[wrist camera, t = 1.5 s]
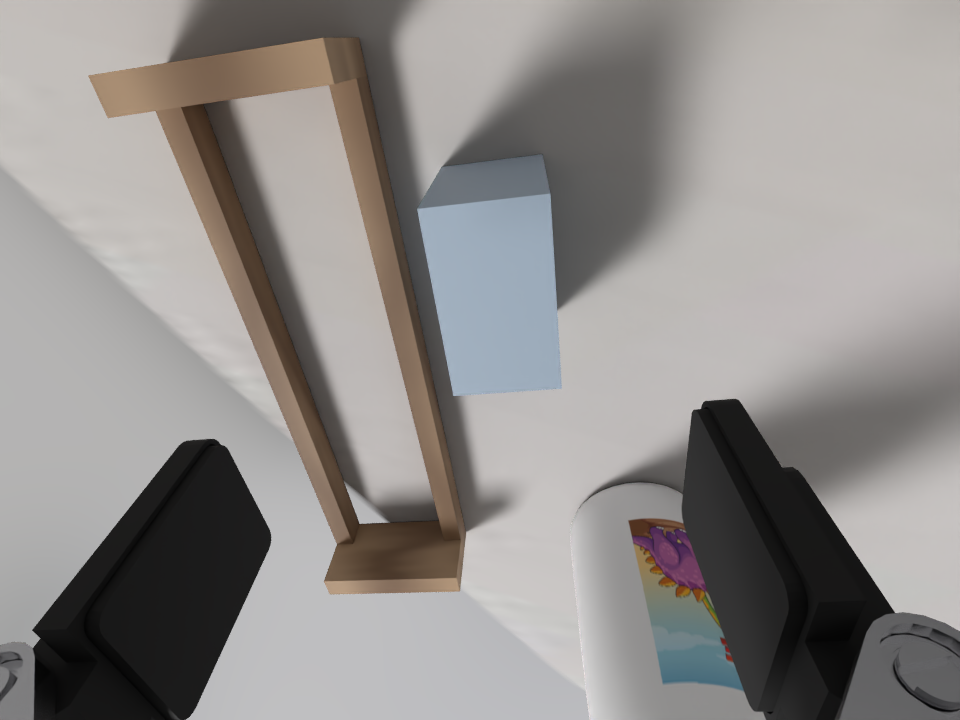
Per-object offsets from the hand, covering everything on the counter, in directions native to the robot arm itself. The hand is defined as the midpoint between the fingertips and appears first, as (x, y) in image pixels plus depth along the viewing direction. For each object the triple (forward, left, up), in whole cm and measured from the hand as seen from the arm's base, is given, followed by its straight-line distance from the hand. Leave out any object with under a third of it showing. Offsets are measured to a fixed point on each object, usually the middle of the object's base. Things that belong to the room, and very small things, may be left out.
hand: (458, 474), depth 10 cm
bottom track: (+8, +5, -14) cm, 17 cm away
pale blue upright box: (0, 0, -14) cm, 14 cm away
